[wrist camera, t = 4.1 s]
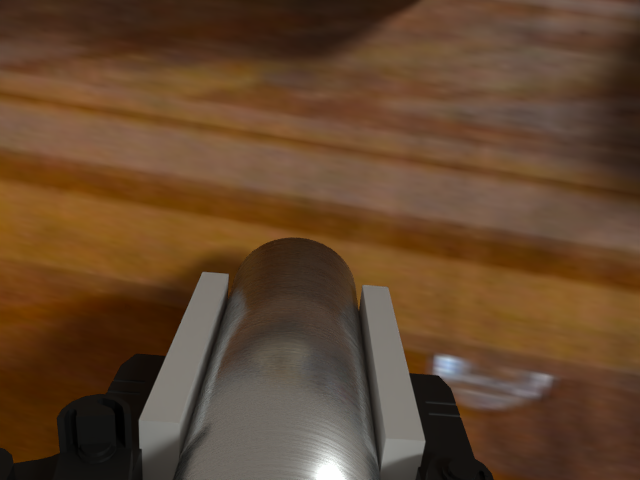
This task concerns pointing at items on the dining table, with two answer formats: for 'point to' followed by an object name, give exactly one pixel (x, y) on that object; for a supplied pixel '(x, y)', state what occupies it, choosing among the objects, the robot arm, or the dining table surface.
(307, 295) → the grey metal rod
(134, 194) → the dining table surface
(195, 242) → the dining table surface
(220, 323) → the robot arm
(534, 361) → the dining table surface
